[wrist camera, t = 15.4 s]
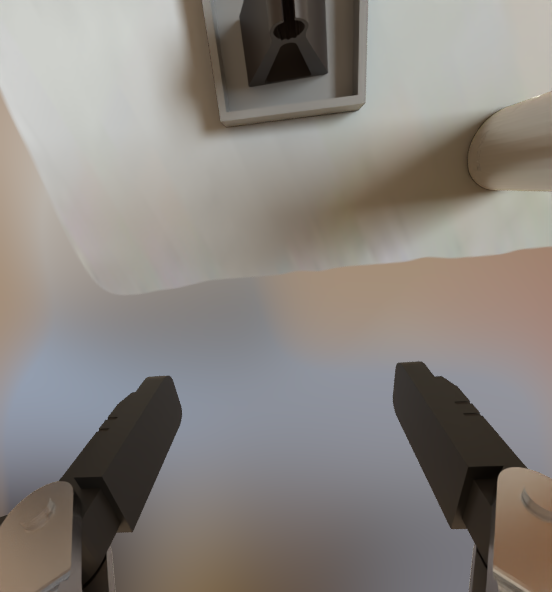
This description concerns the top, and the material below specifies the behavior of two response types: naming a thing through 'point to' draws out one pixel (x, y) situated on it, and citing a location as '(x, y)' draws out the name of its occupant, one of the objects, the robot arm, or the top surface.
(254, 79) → the phone stand
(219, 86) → the tray
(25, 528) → the robot arm
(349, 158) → the top surface
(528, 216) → the top surface
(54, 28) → the top surface
